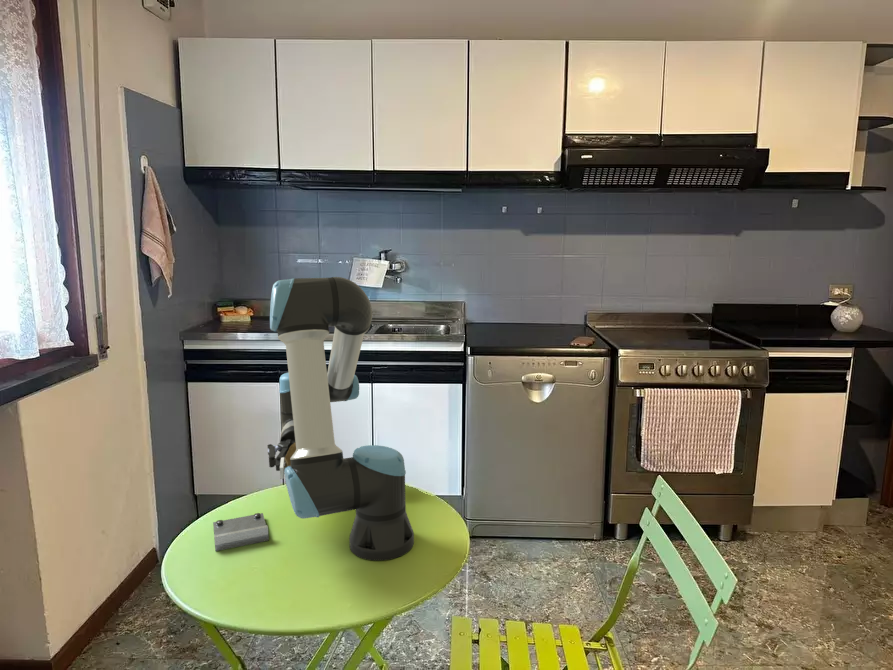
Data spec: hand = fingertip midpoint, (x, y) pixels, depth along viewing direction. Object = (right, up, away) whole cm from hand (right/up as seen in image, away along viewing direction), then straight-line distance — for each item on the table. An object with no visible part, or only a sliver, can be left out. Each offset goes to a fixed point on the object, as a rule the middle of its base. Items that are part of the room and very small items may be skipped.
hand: (292, 472), depth 140 cm
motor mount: (-15, -17, +8) cm, 24 cm away
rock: (-1, -5, +6) cm, 8 cm away
